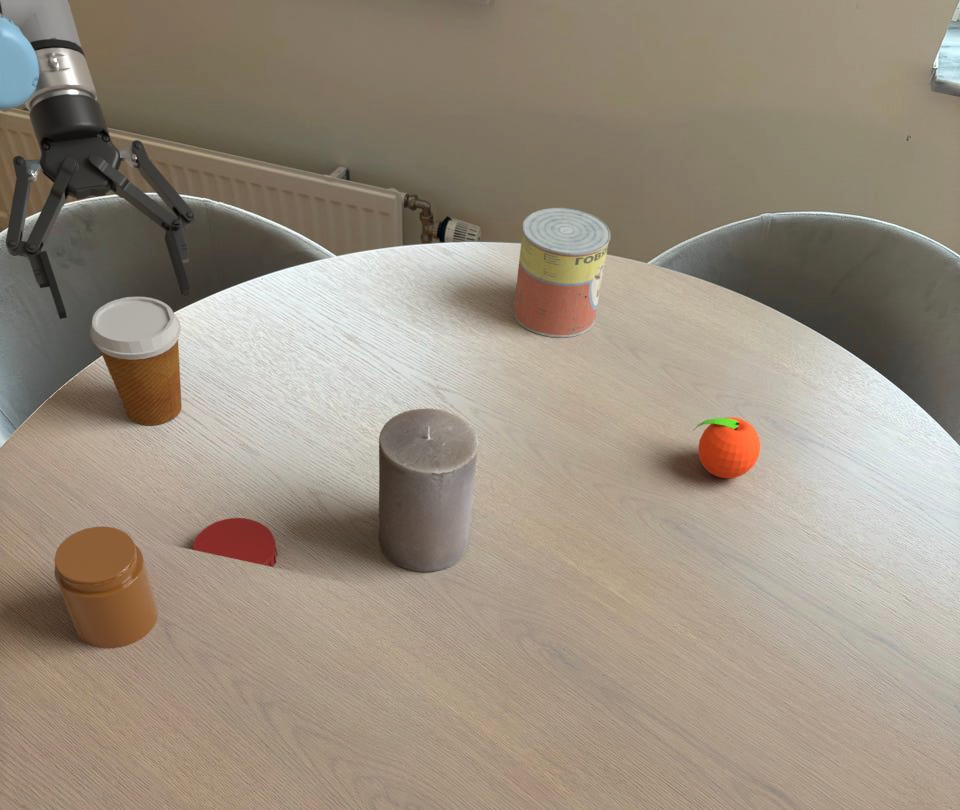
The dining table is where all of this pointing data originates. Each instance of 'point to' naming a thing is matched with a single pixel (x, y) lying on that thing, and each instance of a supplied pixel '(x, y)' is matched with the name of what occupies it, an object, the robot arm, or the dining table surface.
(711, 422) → the clementine
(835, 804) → the dining table surface
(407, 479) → the pillar candle
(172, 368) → the disposable coffee cup
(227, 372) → the dining table surface
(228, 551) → the lid
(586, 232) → the canned food
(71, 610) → the jam jar
